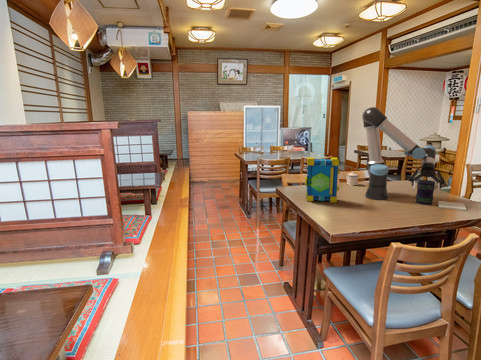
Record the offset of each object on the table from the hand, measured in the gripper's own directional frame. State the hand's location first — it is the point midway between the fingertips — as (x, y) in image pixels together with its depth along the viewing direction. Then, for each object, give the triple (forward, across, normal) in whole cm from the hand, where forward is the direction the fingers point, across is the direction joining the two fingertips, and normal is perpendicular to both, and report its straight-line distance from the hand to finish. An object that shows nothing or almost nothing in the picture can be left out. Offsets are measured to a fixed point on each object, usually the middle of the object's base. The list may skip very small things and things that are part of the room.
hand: (425, 190), depth 185 cm
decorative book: (+25, +61, +12) cm, 67 cm away
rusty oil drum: (+5, 0, -8) cm, 9 cm away
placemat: (+5, -15, -8) cm, 17 cm away
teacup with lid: (-20, +54, -33) cm, 66 cm away
